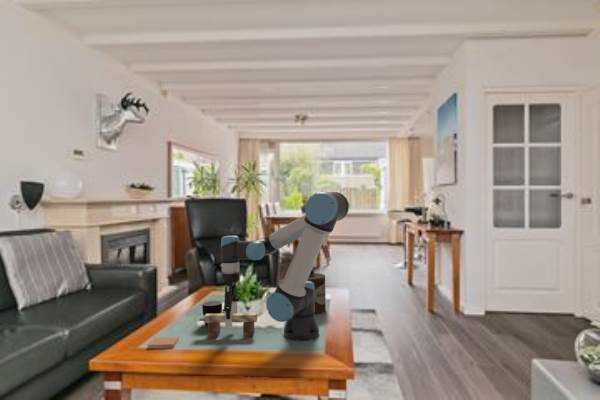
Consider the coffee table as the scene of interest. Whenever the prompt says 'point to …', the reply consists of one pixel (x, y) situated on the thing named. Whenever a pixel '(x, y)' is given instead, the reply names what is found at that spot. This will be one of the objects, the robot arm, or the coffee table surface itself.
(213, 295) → the coffee table surface
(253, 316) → the beige stone bar
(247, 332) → the tool rest
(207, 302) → the mug
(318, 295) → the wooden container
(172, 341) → the tile
